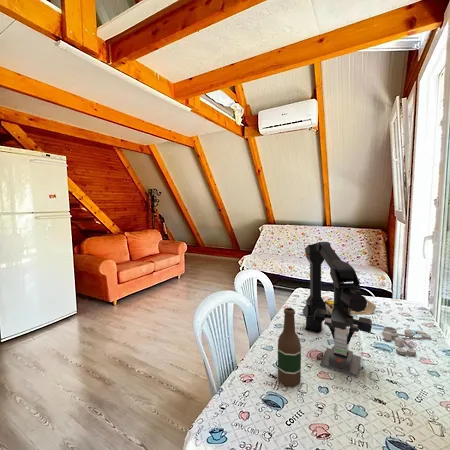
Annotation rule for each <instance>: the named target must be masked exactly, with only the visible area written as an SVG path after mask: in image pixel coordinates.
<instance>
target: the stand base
mask: <svg viewBox="0 0 450 450" xmlns="http://www.w3.org/2000/svg"><path fill="white" fill-rule="evenodd" d="M361 361H362V356H360V355H355V354H354V351H352V350H349V349H348V352H347V355H346V356H345V355H341V354H337V353H334V345H332V347H331V348H329V347H326V349H325V351H324V353H323V356H322V358H321V360H320V362H319V366H320V367H323V368H326V369H329V370H332V371H335V372H339V373H342V374H345V375H348V376H351V377H355V378H358V376H359V372H360V371H359V370H360V365H361Z"/></svg>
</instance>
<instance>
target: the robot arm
mask: <svg viewBox="0 0 450 450" xmlns="http://www.w3.org/2000/svg"><path fill="white" fill-rule="evenodd" d="M304 249H305V250H304V252H305V257H306V259H307V261H308V263H309V296H308V297H307V299H306V301H305V306H304V307H303V309H302V314H303V317H305V328H304V331H306V332H307V331H308V332H312V333H316V334H320V333H321V331H322V330H323V325H325V326H327V327H328V329H329V331H330V334H331V337H332V339H333V341H334V340H335V339H334V338H335V334H334V332H335V330H336V328H339V329H342V330H345V329H346V328H348V329H349V331H348V339H347V344H348V346H349V344H350V342H351V339H352V337H353V335H354V334H355V332H357V333H358V332H363V333H371V332H372V329H373V320H372V319H371V318H368V317H362V316H359V317H358V319H357V318H355V317H354V315H351V309H352V310H353V311H355V312H361V311H363V310H364V309H365V308H366V306H367V305H368V303H367V301H366V299H367V298H366V297H365V296H364V295H362V291H361V290H360V289H361V285H360V284H361V282H360V279H359V277H358V275H357V272H356V270H355V269H354V267H353V266H352V265H351V264H350V263H348V262H345V261H343V260H342V259H341V258H340V257H339V255H338V253H336V251H335V250H334V248H333V247H332V245H331V243H330V242H328V241H318V242H316V243H312V244H307V245H306V246H305V248H304ZM324 261H325V263H326V264H327V265H328V267H329V269H330V271H329V275H330V278H331V280H332V282H331V284H332V285H333V301H334V307H333V311H332V314H331V313H329V311H328V310H327V309H326V303H325V300H324V299H323V297H322V264H323V262H324ZM323 323H324V324H323Z"/></svg>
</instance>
